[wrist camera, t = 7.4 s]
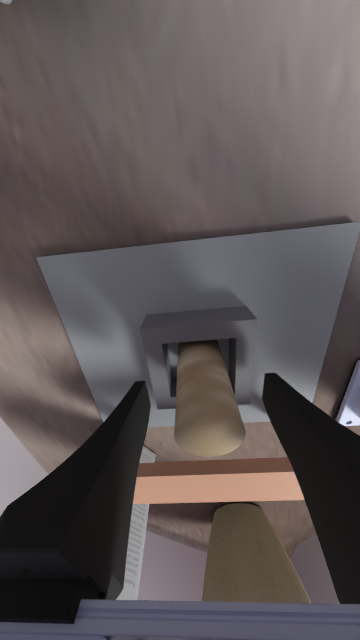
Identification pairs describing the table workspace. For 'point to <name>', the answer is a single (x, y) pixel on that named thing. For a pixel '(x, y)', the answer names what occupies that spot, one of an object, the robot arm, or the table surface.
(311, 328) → the socket station
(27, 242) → the table surface
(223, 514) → the plant pot
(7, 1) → the robot toy
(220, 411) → the peg
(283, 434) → the robot arm
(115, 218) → the table surface
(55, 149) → the table surface
